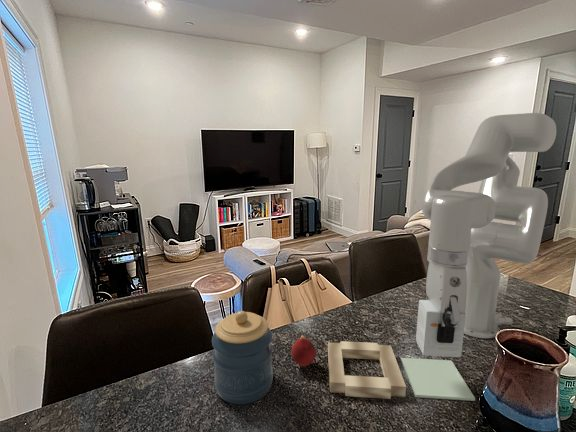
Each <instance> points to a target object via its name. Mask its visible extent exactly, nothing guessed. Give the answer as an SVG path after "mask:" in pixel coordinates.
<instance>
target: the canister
mask: <svg viewBox="0 0 576 432" xmlns="http://www.w3.org/2000/svg"><path fill="white" fill-rule="evenodd" d="M214 328H215V330H214V333H213V335H212V337H211V345H212V347H213V350H212V359H213V365H214V366H213V367H214V378H213V379H214V380H213V381H214V386H215V387H214V388H215V390H216V394H217V396H219V397H220V399H222V400H223V401H225V402H227V403H229V404H232V405H233V404H234V405H248V404H251V403H252V404H253V403H254V402H257V401H258V400H259V401H260V399H262V398H264V397H265V396H266V395H267V394H268V392H270V390H271V388H272V383H273V381H274V379H273V378H274V371H273V345H272V343H271V342H272V339H273V332H272V330H271V328H270V327H269V323H268V320H266V318H264V317H263V316H261V315H259V314H257V313H255V312H251V311H244V310H240V311H238V312H235V313H231V314H229V315H227V316H226V317H224V318H223V319H221V320H219V322H218V323H217V324H216V326H215V327H214Z"/></svg>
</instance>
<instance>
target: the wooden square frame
mask: <svg viewBox="0 0 576 432" xmlns="http://www.w3.org/2000/svg"><path fill="white" fill-rule="evenodd" d="M327 356H328V358H327V359H328V362H327V363H328V375H329V376H328V377H329V381H328V382H329V393H338V394H344V396H345V397H352V398H353V397H355V398H356V397H357V398H371V399H386V400H391V399H392V398H391V397H398V398H406V392H407V391H406V390H407V386H406V385H407V384H406V383H405V380H404V378H403V377H404V376H403V374H402V372H401V370H400V366H399V364H398V361H397V359H396V358H397V357H396V356H395V354H394V350H393V348H392V345H391V344H390V345H388V344H387V345H386V344H378V342H367V341H366V342H364V341H363V342H361V341H345V340H344V341H343V340H342V341H341V340H340V342H329V341H328V342H327ZM344 359H360V360H361V359H362V360H378V361H379V363H380V366H381V372H382V374H383V377H382V376H381V377H379V376H363V375H347V374H345V368H344V361H343V360H344Z"/></svg>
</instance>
